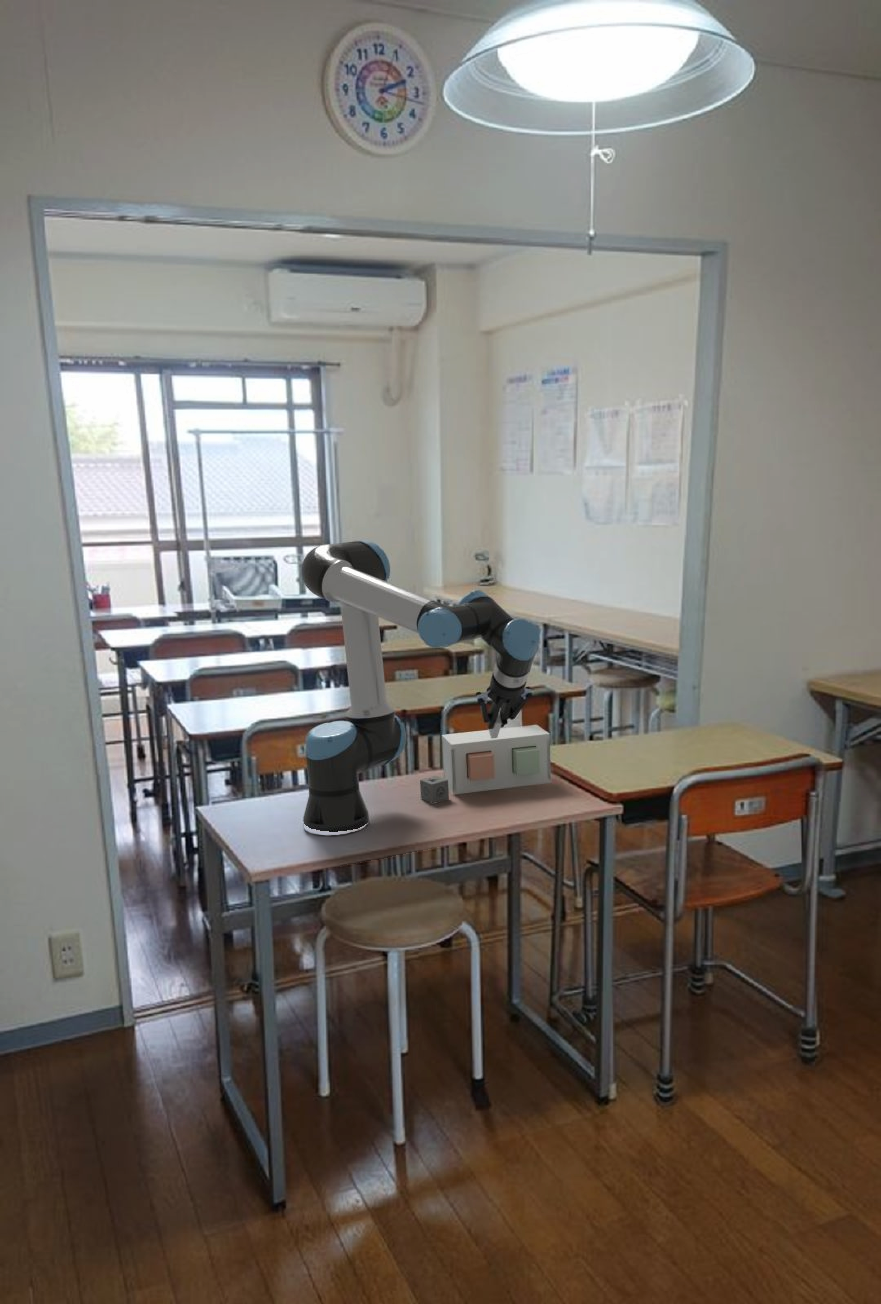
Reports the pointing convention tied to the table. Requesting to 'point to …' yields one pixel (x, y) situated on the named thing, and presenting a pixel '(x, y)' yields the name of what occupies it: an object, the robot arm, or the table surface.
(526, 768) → the sage button
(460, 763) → the box
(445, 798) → the dice cube
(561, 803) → the table surface
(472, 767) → the terracotta button
